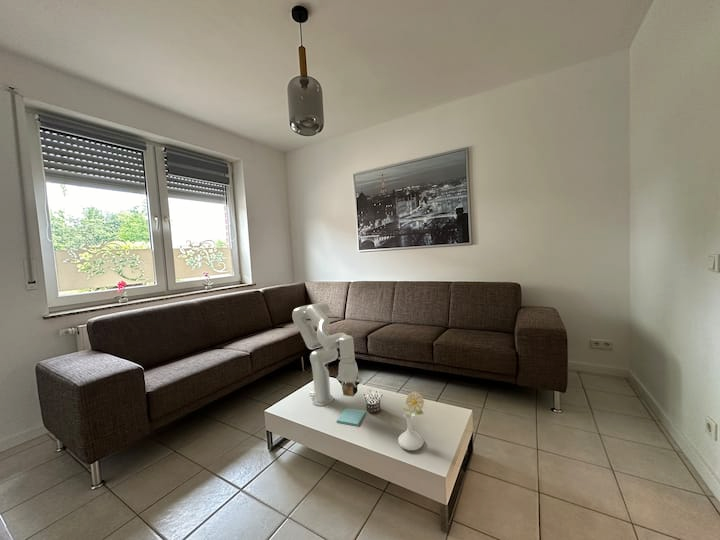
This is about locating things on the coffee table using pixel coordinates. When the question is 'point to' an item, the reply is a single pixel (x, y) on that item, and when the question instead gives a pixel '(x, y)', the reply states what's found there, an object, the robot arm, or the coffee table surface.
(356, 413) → the teal board
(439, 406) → the coffee table surface
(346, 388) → the walnut block
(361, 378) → the robot arm
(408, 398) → the flower in vase
